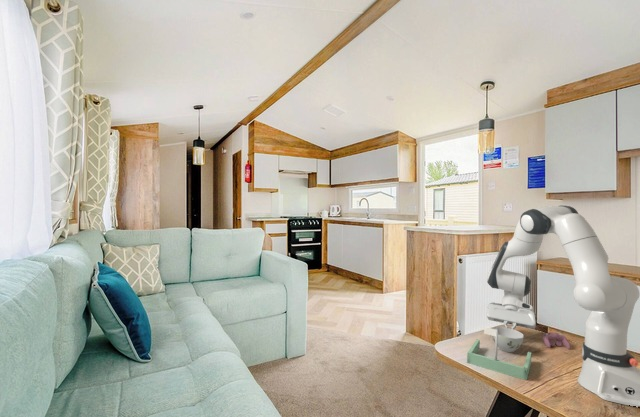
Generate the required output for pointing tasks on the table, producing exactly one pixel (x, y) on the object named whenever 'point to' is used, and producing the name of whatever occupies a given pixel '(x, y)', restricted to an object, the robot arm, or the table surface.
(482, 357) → the corral
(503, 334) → the teacup
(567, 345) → the video game controller
